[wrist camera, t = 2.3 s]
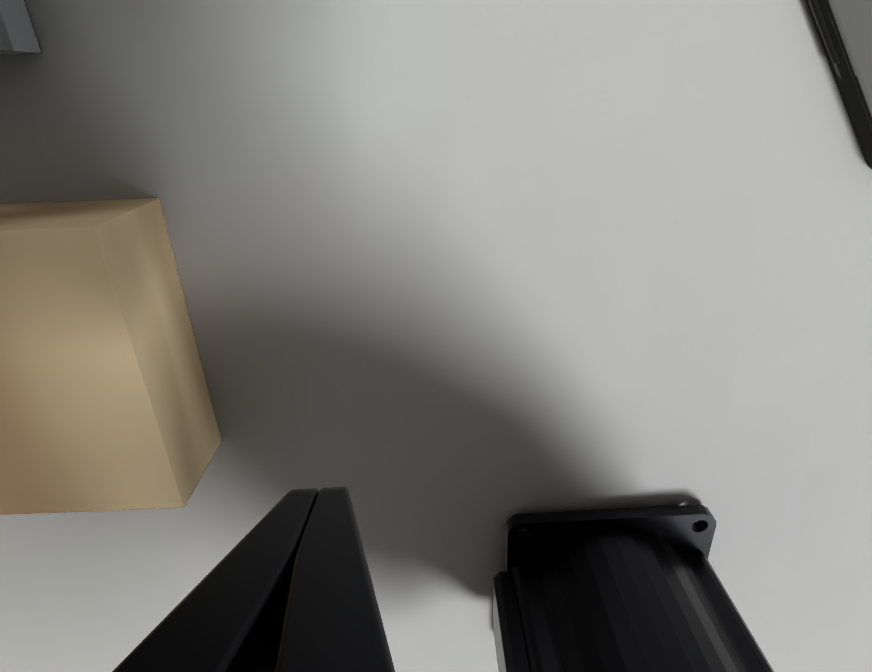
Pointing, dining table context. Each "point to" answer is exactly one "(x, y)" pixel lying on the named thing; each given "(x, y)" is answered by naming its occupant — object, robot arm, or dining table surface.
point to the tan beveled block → (97, 362)
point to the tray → (16, 29)
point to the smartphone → (849, 58)
